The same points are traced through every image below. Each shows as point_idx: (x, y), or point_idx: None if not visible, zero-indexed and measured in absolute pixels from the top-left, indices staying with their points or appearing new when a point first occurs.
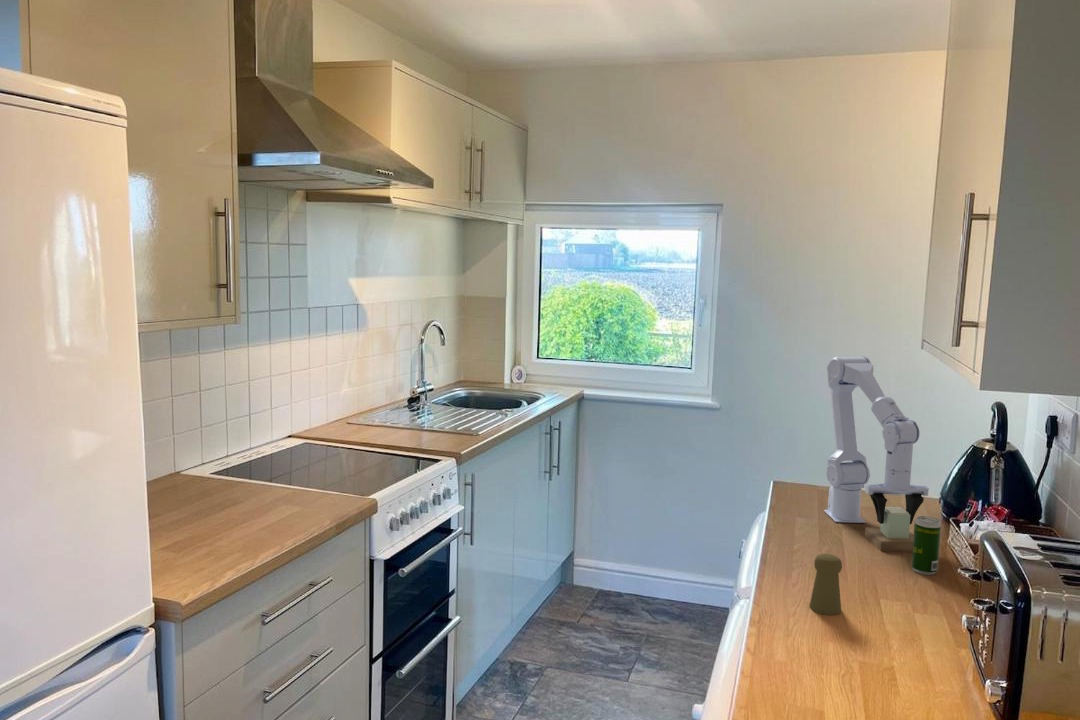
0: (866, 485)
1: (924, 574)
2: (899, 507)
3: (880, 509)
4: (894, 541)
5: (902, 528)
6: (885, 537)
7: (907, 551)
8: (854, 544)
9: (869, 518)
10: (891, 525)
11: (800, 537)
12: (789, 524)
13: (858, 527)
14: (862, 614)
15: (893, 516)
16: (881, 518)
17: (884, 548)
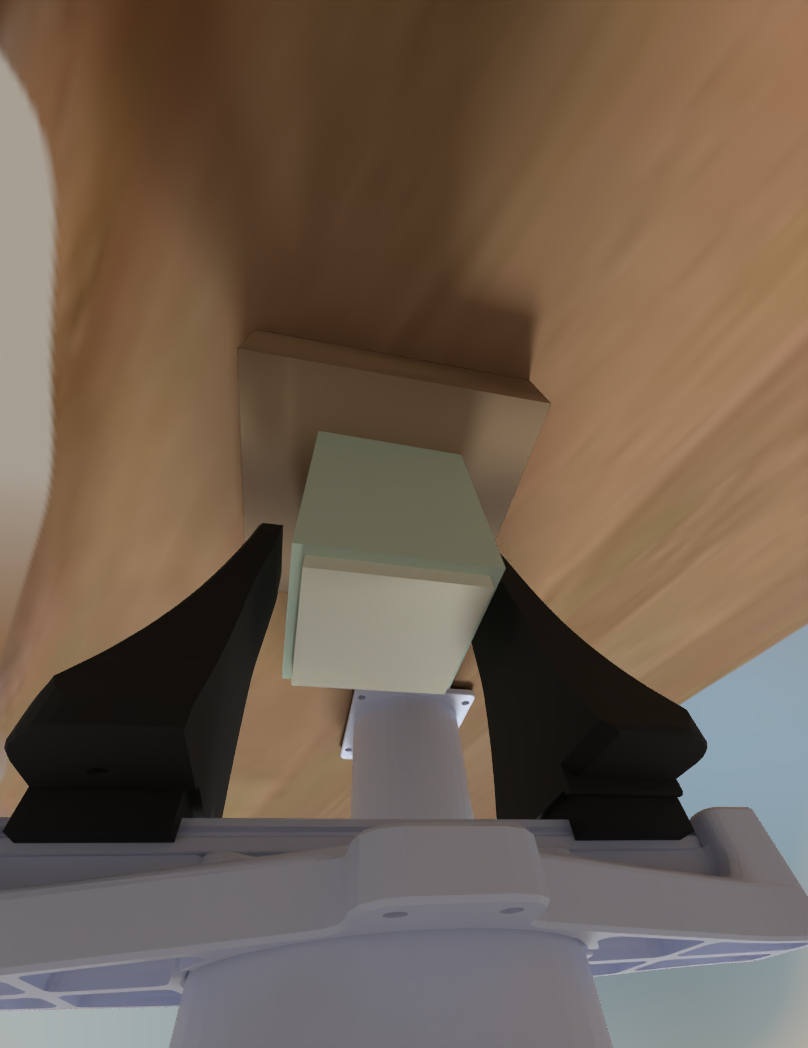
0: (772, 954)
1: None
2: (314, 679)
3: (570, 632)
4: (460, 389)
5: (366, 476)
6: (467, 466)
7: (360, 349)
8: (593, 488)
9: (308, 714)
10: (458, 502)
11: (752, 579)
12: (656, 680)
13: None
14: None
15: (461, 551)
16: (515, 573)
17: (513, 381)
